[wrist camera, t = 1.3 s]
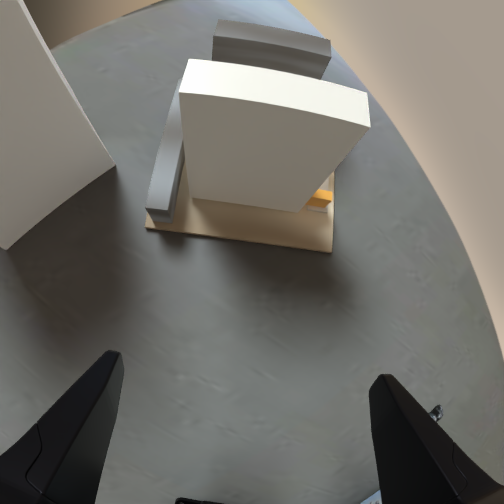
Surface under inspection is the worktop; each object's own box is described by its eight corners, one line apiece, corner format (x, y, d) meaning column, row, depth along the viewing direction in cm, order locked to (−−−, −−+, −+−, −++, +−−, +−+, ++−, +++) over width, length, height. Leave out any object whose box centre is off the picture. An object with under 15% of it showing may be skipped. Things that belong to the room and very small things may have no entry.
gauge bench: (329, 253, 25) (384, 222, 16) (145, 228, 23) (116, 183, 15) (331, 107, 27) (367, 47, 19) (182, 82, 26) (178, 13, 18)
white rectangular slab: (323, 217, 24) (409, 139, 13) (190, 197, 23) (178, 91, 11) (323, 192, 25) (403, 105, 13) (194, 172, 24) (188, 58, 12)
